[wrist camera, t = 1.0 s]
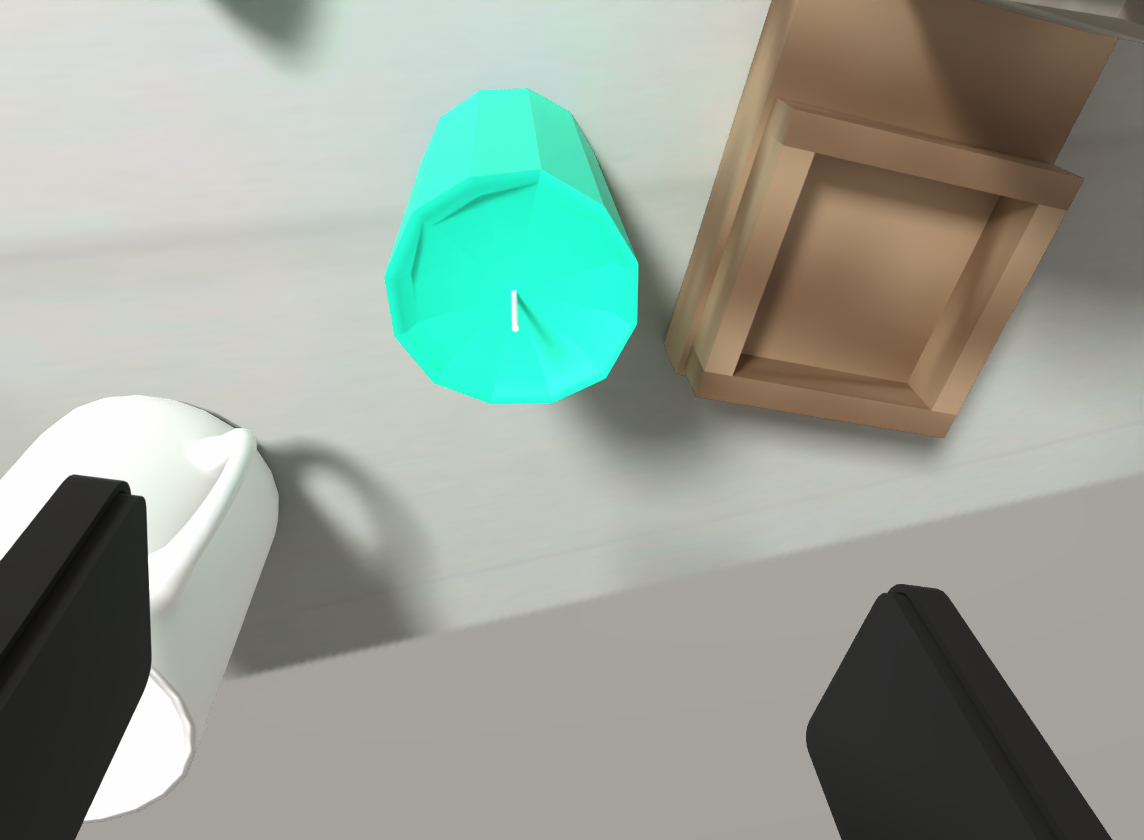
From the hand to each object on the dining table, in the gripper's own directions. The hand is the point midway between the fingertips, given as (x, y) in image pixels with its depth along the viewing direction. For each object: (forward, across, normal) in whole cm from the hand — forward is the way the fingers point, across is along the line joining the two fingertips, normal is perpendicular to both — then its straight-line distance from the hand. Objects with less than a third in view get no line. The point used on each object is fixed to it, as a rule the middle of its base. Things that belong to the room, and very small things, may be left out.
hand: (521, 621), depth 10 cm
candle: (+21, 0, 0) cm, 21 cm away
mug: (+21, +11, +14) cm, 27 cm away
